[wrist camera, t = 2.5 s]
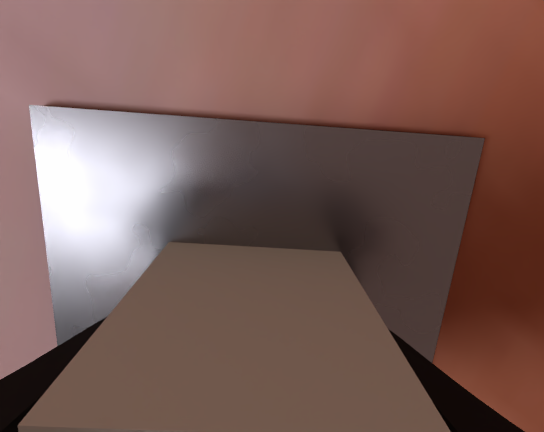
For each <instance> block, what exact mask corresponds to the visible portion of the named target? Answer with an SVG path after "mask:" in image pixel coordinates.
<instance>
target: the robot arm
mask: <svg viewBox="0 0 544 432" xmlns="http://www.w3.org/2000/svg"><path fill="white" fill-rule="evenodd" d="M106 318H107V317H106ZM106 318H104V319H102V320H100V321H98V322H97V323H95V324H93V325H92V326H90V327H88V328H87V329H85V330H83V331H82V332H80V333H78V334H77V335H75V336H74V337H72V338H70V339H69V340H67V341H65V342H64V343H62V344H61V345H59V346H57V347H56V348H54V349H52V350H51V351H49V352H47V353H46V354H44V355H42V356H41V357H39V358H37V359H36V360H34V361H33V362H31V363H29V364H27V365H26V366H24V367H22V368H20V369H19V370H17V371H15V372H13V373H12V374H10V375H8V376H6V377H4V378H3V379H1V380H0V432H18V424H19V423H20V422H21V421H22V420H23V418H24V417H25V416H26V415H27V414H28V412H29V411H30V410H31V409H32V407H33V406H34V405H35V404H36V403H37V401H38V400H39V399H40V398H41V397H42V395H43V394H44V393H45V392H46V390H47V389H48V388H49V387H50V386H51V384H52V383H53V382H54V381H55V380H56V378H57V377H58V376H59V375H60V374H61V372H62V371H63V370H64V369H65V367H66V366H67V365H68V364H69V363H70V361H71V360H72V359H73V358H74V357H75V355H76V354H77V353H78V352H79V350H80V349H81V348H82V347H83V346H84V344H85V343H86V342H87V341H88V340H89V338H90V337H91V336H92V335H93V334H94V332H95V331H96V330H97V329H98V327H99V326H100V325H101V324H102V323H103V321H104V320H105V319H106ZM388 330H389V329H388ZM389 332H390V333H391V335H392V336H393V338H394V340H395V341H396V343H397V345H398V346H399V348H400V350H401V351H402V353H403V354H404V356H405V358H406V359H407V361H408V363H409V364H410V366H411V368H412V369H413V371H414V372H415V374H416V376H417V377H418V379H419V381H420V382H421V384H422V386H423V387H424V389H425V391H426V392H427V394H428V395H429V397H430V399H431V400H432V402H433V404H434V405H435V407H436V409H437V410H438V412H439V413H440V415H441V417H442V418H443V420H444V422H445V423H446V425H447V427H448V428H449V430H450V431H451V432H524V431H523V430H522V429H520V428H519V427H517V426H516V425H514V424H513V423H511V422H510V421H508V420H507V419H506V418H504V417H503V416H501V415H500V414H499V413H497V412H496V411H494V410H493V409H492V408H490V407H489V406H487V405H486V404H485V403H483V402H482V401H481V400H479V399H478V398H476V397H475V396H474V395H472V394H471V393H470V392H468V391H467V390H466V389H464V388H463V387H462V386H460V385H459V384H458V383H457V382H455V381H454V380H453V379H451V378H450V377H449V376H448V375H446V374H445V373H444V372H443V371H441V370H440V369H439V368H437V367H436V366H435V365H434V364H432V363H431V362H430V361H429V360H427V359H426V358H425V357H424V356H423V355H421V354H420V353H419V352H418V351H416V350H415V349H414V348H413V347H411V346H410V345H409V344H408V343H406V342H405V341H404V340H403V339H401V338H400V337H399V336H397V335H396V334H395V333H393V332H392V331H390V330H389Z"/></svg>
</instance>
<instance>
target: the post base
mask: <svg viewBox="0 0 544 432" xmlns="http://www.w3.org/2000/svg"><path fill="white" fill-rule="evenodd" d="M29 109H30V117H31V126H32V134H33V143H34V151H35V159H36V168H37V176H38V185H39V193H40V201H41V210H42V218H43V227H44V235H45V244H46V252H47V260H48V269H49V277H50V286H51V294H52V303H53V311H54V319H55V328H56V336H57V345H58V346H59V345H61V344H62V343H64V342H65V341H67V340H69V339H70V338H72V337H74V336H75V335H77V334H78V333H80V332H82V331H83V330H85V329H87V328H88V327H90V326H92V325H93V324H95V323H97V322H98V321H100V320H102V319H104V318H106V317H108V315H109V314H110V313H111V312H112V310H113V309H114V308H115V307H116V306H117V304H118V303H119V302H120V301H121V300H122V298H123V297H124V296H125V295H126V293H127V292H128V291H129V290H130V289H131V287H132V286H133V285H134V284H135V283H136V281H137V280H138V279H139V278H140V277H141V275H142V274H143V273H144V272H145V270H146V269H147V268H148V267H149V266H150V264H151V263H152V262H153V261H154V260H155V258H156V257H157V256H158V255H159V253H160V252H161V251H162V250H163V249H164V247H165V246H166V245H167V244H168V243H169V242H180V243H197V244H215V245H232V246H250V247H267V248H284V249H302V250H319V251H337V252H341V253H342V255H343V256H344V258H345V260H346V261H347V263H348V264H349V266H350V268H351V269H352V271H353V273H354V274H355V276H356V278H357V279H358V281H359V282H360V284H361V286H362V287H363V289H364V291H365V292H366V294H367V296H368V297H369V299H370V300H371V302H372V304H373V305H374V307H375V309H376V310H377V312H378V314H379V315H380V317H381V318H382V320H383V322H384V323H385V325H386V327H387V328H388V329H389V330H390V331H392V332H393V333H395V334H396V335H397V336H399V337H400V338H401V339H403V340H404V341H405V342H406V343H408V344H409V345H410V346H411V347H413V348H414V349H415V350H416V351H418V352H419V353H420V354H421V355H423V356H424V357H425V358H426V359H427V360H429V361H430V362H431V363H432V362H433V357H434V353H435V349H436V344H437V340H438V336H439V332H440V327H441V323H442V319H443V315H444V310H445V306H446V302H447V297H448V293H449V289H450V285H451V280H452V276H453V272H454V268H455V263H456V259H457V255H458V251H459V246H460V242H461V238H462V233H463V229H464V225H465V221H466V216H467V212H468V208H469V204H470V199H471V195H472V191H473V187H474V182H475V178H476V174H477V169H478V165H479V161H480V157H481V152H482V148H483V144H484V140H485V138H475V137H461V136H447V135H434V134H420V133H406V132H393V131H379V130H365V129H351V128H338V127H324V126H310V125H297V124H283V123H269V122H255V121H242V120H228V119H214V118H201V117H187V116H173V115H159V114H146V113H132V112H118V111H105V110H91V109H77V108H63V107H50V106H36V105H29Z"/></svg>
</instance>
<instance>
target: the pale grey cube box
mask: <svg viewBox="0 0 544 432" xmlns="http://www.w3.org/2000/svg"><path fill="white" fill-rule="evenodd" d="M18 432H451V431H450V430H449V428H448V427H447V425H446V423H445V422H444V420H443V418H442V417H441V415H440V413H439V412H438V410H437V409H436V407H435V405H434V404H433V402H432V400H431V399H430V397H429V395H428V394H427V392H426V391H425V389H424V387H423V386H422V384H421V382H420V381H419V379H418V377H417V376H416V374H415V372H414V371H413V369H412V368H411V366H410V364H409V363H408V361H407V359H406V358H405V356H404V354H403V353H402V351H401V350H400V348H399V346H398V345H397V343H396V341H395V340H394V338H393V336H392V335H391V333H390V332H389V330H388V328H387V327H386V325H385V323H384V322H383V320H382V318H381V317H380V315H379V314H378V312H377V310H376V309H375V307H374V305H373V304H372V302H371V300H370V299H369V297H368V296H367V294H366V292H365V291H364V289H363V287H362V286H361V284H360V282H359V281H358V279H357V278H356V276H355V274H354V273H353V271H352V269H351V268H350V266H349V264H348V263H347V261H346V260H345V258H344V256H343V255H342V253H341V252H337V251H319V250H302V249H284V248H267V247H250V246H232V245H215V244H197V243H180V242H169V243H168V244H167V245H166V246H165V247H164V249H163V250H162V251H161V252H160V253H159V255H158V256H157V257H156V258H155V260H154V261H153V262H152V263H151V264H150V266H149V267H148V268H147V269H146V270H145V272H144V273H143V274H142V275H141V277H140V278H139V279H138V280H137V281H136V283H135V284H134V285H133V286H132V287H131V289H130V290H129V291H128V292H127V293H126V295H125V296H124V297H123V298H122V300H121V301H120V302H119V303H118V304H117V306H116V307H115V308H114V309H113V310H112V312H111V313H110V314H109V315H108V317H107V318H106V319H105V320H104V321H103V323H102V324H101V325H100V326H99V327H98V329H97V330H96V331H95V332H94V334H93V335H92V336H91V337H90V338H89V340H88V341H87V342H86V343H85V344H84V346H83V347H82V348H81V349H80V350H79V352H78V353H77V354H76V355H75V357H74V358H73V359H72V360H71V361H70V363H69V364H68V365H67V366H66V367H65V369H64V370H63V371H62V372H61V374H60V375H59V376H58V377H57V378H56V380H55V381H54V382H53V383H52V384H51V386H50V387H49V388H48V389H47V390H46V392H45V393H44V394H43V395H42V397H41V398H40V399H39V400H38V401H37V403H36V404H35V405H34V406H33V407H32V409H31V410H30V411H29V412H28V414H27V415H26V416H25V417H24V418H23V420H22V421H21V422H20V423H19V424H18Z"/></svg>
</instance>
